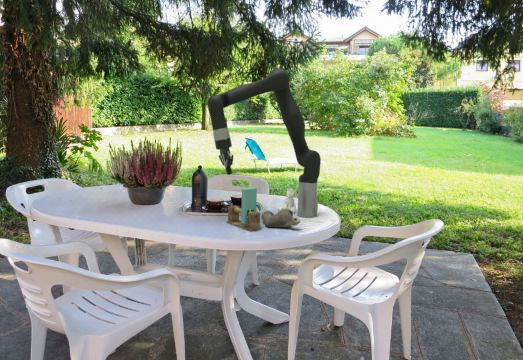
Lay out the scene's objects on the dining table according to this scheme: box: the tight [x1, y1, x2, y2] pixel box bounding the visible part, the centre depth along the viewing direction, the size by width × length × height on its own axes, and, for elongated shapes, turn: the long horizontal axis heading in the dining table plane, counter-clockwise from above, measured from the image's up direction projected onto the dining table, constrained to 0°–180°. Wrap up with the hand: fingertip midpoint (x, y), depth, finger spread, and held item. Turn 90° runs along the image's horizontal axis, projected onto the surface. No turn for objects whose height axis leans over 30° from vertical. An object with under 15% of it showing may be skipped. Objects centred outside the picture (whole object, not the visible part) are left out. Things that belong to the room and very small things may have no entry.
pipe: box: [260, 209, 301, 228], centre depth 212 cm, size 16×9×15 cm
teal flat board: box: [240, 186, 258, 224], centre depth 206 cm, size 2×6×16 cm, turn 131°
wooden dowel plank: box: [226, 204, 262, 233], centre depth 210 cm, size 18×6×8 cm, turn 41°
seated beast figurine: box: [277, 188, 298, 215], centre depth 240 cm, size 10×9×12 cm
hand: (229, 174), depth 219 cm, fingers closed
